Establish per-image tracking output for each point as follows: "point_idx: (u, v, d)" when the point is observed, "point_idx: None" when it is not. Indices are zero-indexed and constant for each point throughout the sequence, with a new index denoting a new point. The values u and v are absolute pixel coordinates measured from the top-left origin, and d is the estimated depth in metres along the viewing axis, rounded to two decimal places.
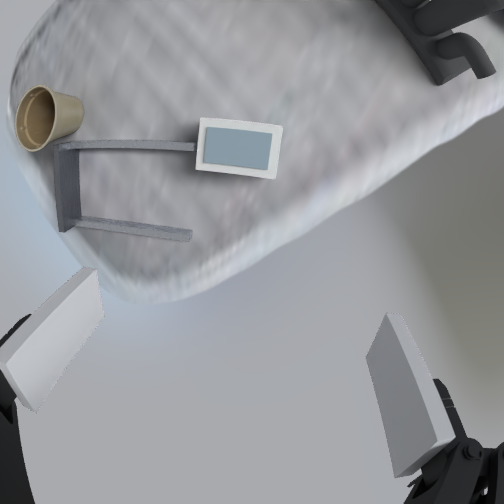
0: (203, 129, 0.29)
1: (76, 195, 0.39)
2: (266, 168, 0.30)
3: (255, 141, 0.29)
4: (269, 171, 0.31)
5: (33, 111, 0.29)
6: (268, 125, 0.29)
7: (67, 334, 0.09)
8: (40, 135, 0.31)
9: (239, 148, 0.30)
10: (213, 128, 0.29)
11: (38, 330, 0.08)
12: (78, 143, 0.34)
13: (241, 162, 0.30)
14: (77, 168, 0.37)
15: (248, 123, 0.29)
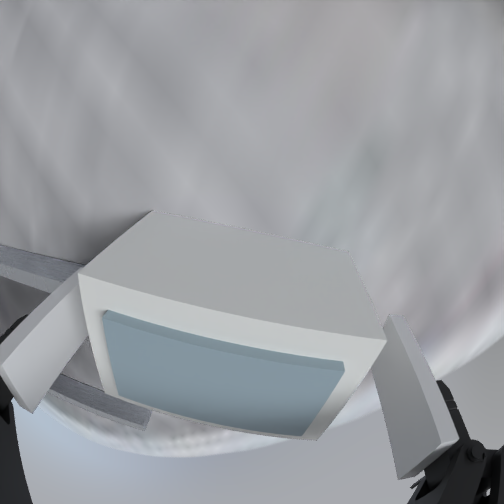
0: (94, 312, 0.08)
1: None
2: (299, 434, 0.09)
3: (276, 387, 0.08)
4: (305, 431, 0.09)
5: None
6: (336, 338, 0.07)
7: (64, 335, 0.09)
8: None
9: (220, 395, 0.08)
10: (122, 328, 0.07)
11: (34, 331, 0.08)
12: None
13: (227, 420, 0.09)
14: None
15: (257, 325, 0.07)
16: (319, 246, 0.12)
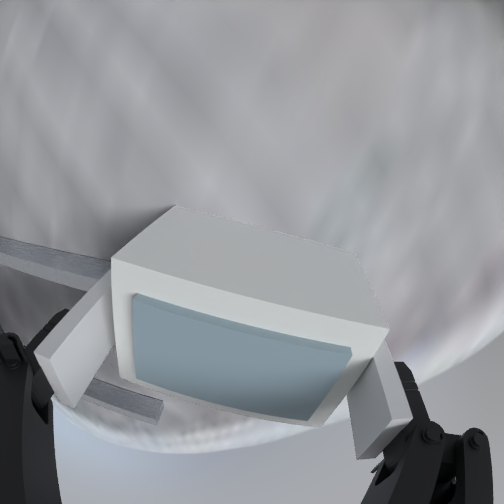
0: (123, 295, 0.09)
1: None
2: (305, 419, 0.10)
3: (290, 370, 0.09)
4: (311, 416, 0.10)
5: None
6: (346, 324, 0.08)
7: (105, 328, 0.10)
8: None
9: (237, 377, 0.09)
10: (152, 310, 0.08)
11: (80, 324, 0.08)
12: None
13: (240, 403, 0.10)
14: None
15: (278, 310, 0.08)
16: (327, 246, 0.13)
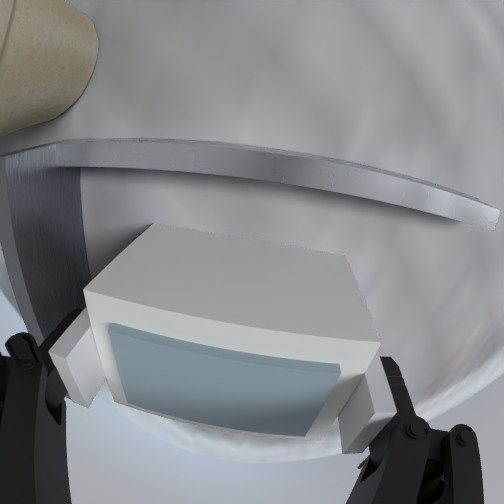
0: (101, 325, 0.08)
1: (84, 299, 0.14)
2: (302, 435, 0.09)
3: (276, 390, 0.08)
4: (308, 431, 0.10)
5: None
6: (330, 342, 0.08)
7: None
8: None
9: (223, 399, 0.09)
10: (128, 339, 0.08)
11: None
12: (77, 149, 0.10)
13: (231, 423, 0.09)
14: (77, 225, 0.13)
15: (254, 333, 0.08)
16: (315, 252, 0.13)
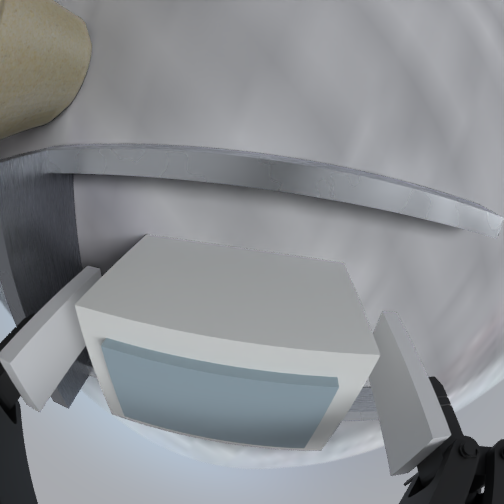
0: (94, 340, 0.08)
1: None
2: (301, 447, 0.09)
3: (273, 405, 0.08)
4: (308, 442, 0.09)
5: None
6: (327, 356, 0.07)
7: (71, 333, 0.10)
8: None
9: (219, 414, 0.08)
10: (120, 355, 0.07)
11: (42, 329, 0.08)
12: (68, 155, 0.09)
13: (229, 436, 0.09)
14: (70, 233, 0.12)
15: (248, 348, 0.07)
16: (313, 259, 0.12)
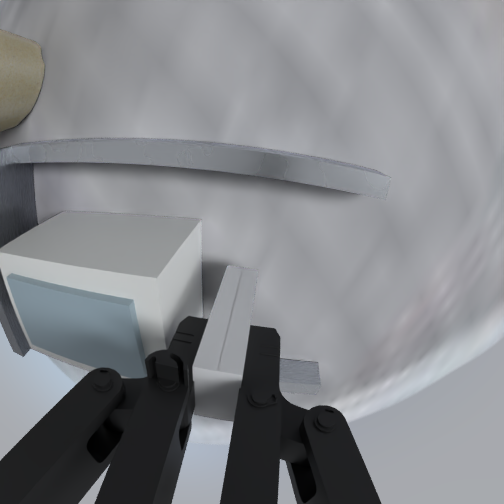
0: (7, 277, 0.10)
1: None
2: None
3: (96, 322, 0.10)
4: None
5: None
6: (116, 276, 0.09)
7: None
8: None
9: (72, 332, 0.10)
10: (14, 282, 0.09)
11: None
12: (24, 149, 0.11)
13: (89, 360, 0.11)
14: (30, 210, 0.14)
15: (70, 270, 0.09)
16: (172, 218, 0.14)
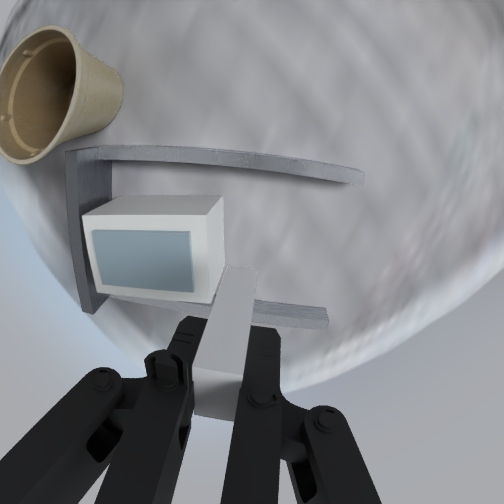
0: (89, 233, 0.18)
1: None
2: (191, 290, 0.18)
3: (163, 249, 0.17)
4: (198, 292, 0.19)
5: (26, 86, 0.14)
6: (181, 217, 0.17)
7: None
8: (37, 133, 0.16)
9: (143, 262, 0.18)
10: (99, 233, 0.17)
11: None
12: (114, 150, 0.19)
13: (152, 284, 0.18)
14: (108, 196, 0.22)
15: (148, 218, 0.17)
16: (204, 195, 0.22)
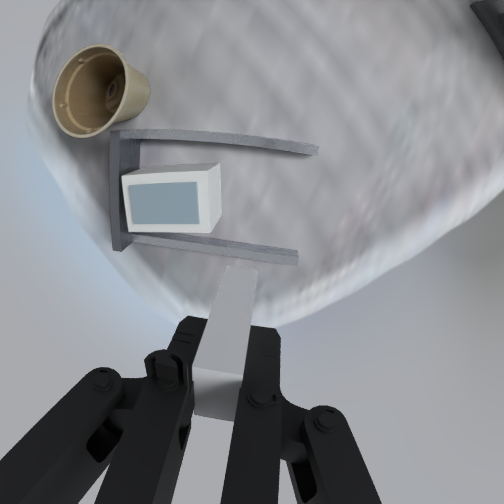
0: (126, 188, 0.26)
1: None
2: (197, 222, 0.27)
3: (179, 194, 0.26)
4: (202, 225, 0.27)
5: (78, 83, 0.22)
6: (191, 173, 0.25)
7: None
8: (86, 118, 0.25)
9: (164, 204, 0.26)
10: (134, 186, 0.26)
11: None
12: (144, 132, 0.28)
13: (170, 219, 0.27)
14: (137, 166, 0.31)
15: (169, 174, 0.26)
16: (206, 163, 0.31)
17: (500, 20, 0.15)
